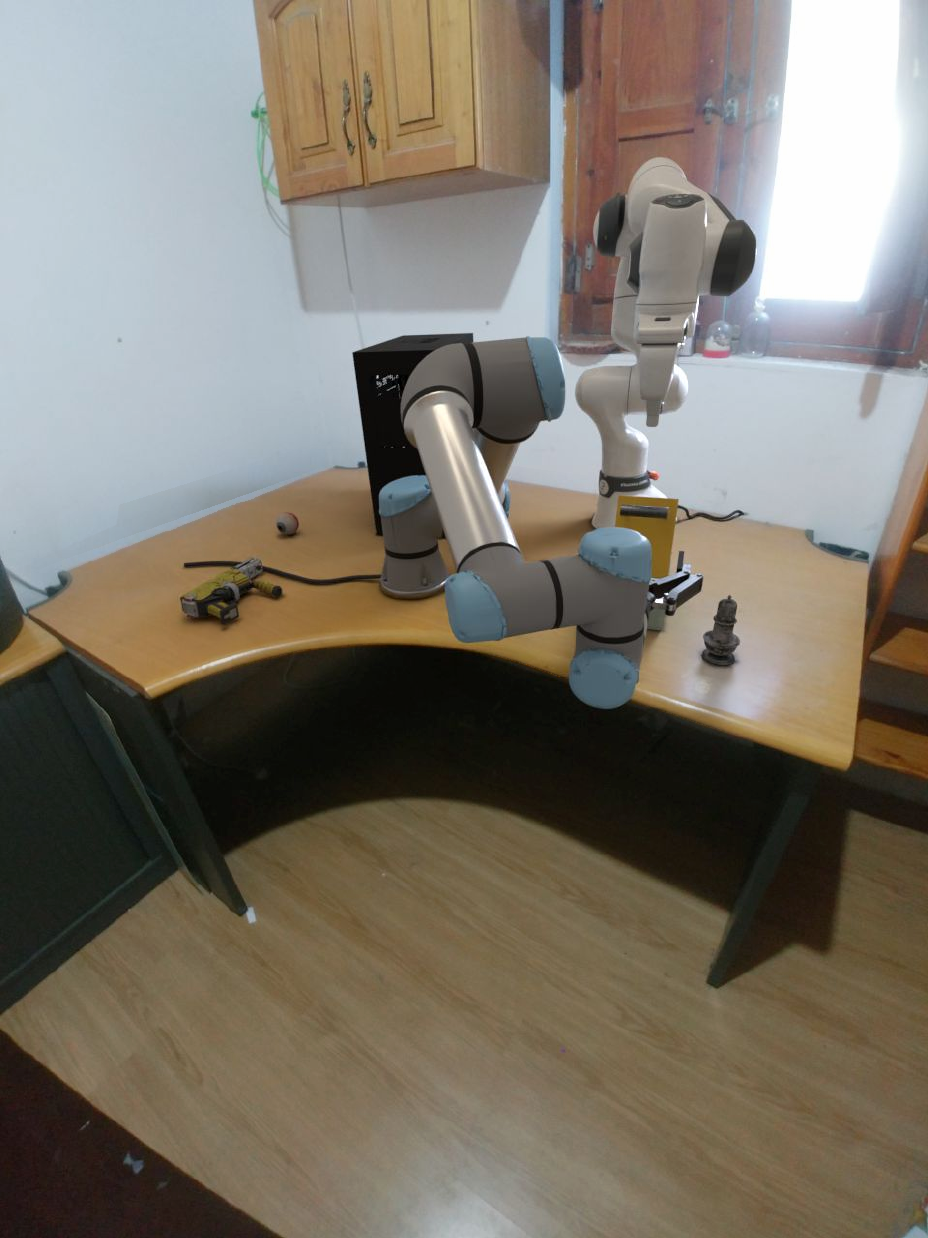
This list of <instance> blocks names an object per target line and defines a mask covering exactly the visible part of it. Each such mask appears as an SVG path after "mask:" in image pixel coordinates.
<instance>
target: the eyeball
mask: <svg viewBox="0 0 928 1238" xmlns="http://www.w3.org/2000/svg"><path fill="white" fill-rule="evenodd" d="M299 525H300V522H299V519H298V517H297V516H296V515H295V514H294V513H292V512H287V511H286V512H282V513H280V514H279V515H278V516H277V517H276V520H275V527H276V529H277V530H278V531H279V532H280V533H281V534H282V535H285V536H286V535H287V536H289V535H293V534H295V533H296V532H297V531H298V529H299Z"/></svg>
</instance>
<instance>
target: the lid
mask: <svg viewBox="0 0 928 1238" xmlns="http://www.w3.org/2000/svg"><path fill="white" fill-rule="evenodd" d="M679 500H680V499H679V498H670V497H667V498H655V497H639V496H622V495H619V496H618V504H617V512H616V520H615V527H619V528H626V529H630V530H634V531H636V532H639V533H640V534H641V535H642V536H644V537H646V538H647V539H648V540H649V542H650V544H651V556H652V565H651V577H656V578H664V577H667V576H668V574H669V575H670V570H669V567H670V568H671V563H670V559H671V560H672V555H671V552H672V553H673V543H674V536H675V530H676V523H677V522H676V517H677V514H678V508H677V507H678V505H679Z"/></svg>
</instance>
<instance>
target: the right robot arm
mask: <svg viewBox="0 0 928 1238" xmlns="http://www.w3.org/2000/svg"><path fill="white" fill-rule="evenodd" d="M593 222H594V223H593V227H592V228H593V229H592V235H593V241H594V245H595V248H596V251H597V253H598V254H599V255H600V256H602V257H606V258H611V259H614V258H615V257H618V258H620V260H619V264H618V269H617V273H616V277H615V283H614V290H613V291H614V292H613V300H612V301H613V302H612V303H613V304H612V314H611V327H610V335H611V338H612V340H613V341H614V343H616V344H617V345H618V346H619V347H621V348H622V349H625V350H627V351H628V352H631V353H632V354H633V355H634V356H635V358H636V363H635V364H633V365H603V366H597V367H593V368H589V369H585V370H584V371H583V372H582V373H581V374H580V376H579V377H578V379H577V381H576V384H575V388H574V389H575V390H574V396H575V402H576V404H577V406H578V407H579V408H580V410H581V411H582V412H583V413H584V414H586V415H587V416H588V417H589V418H590V419H591V420H592V421H593V423H594V425H595V427H596V428H597V431H598V434H599V436H600V437H599V438H600V443H601V468H600V470H599V474H598V492H599V493H598V498H597V502H596V507H595V511H594V514H593V517H592V520H591V525H592V526H593V527H594V528H595V529H598V528H605V527H615V520H616V512H617V504H618V496H619V495H622V496H639V497H655V498H668V497H667V496H666V495H665V494H664V493H663V492H661V491H660V490H659V489H658V488H656V487H655V486H654V485H652V483H651V480H653V481H658V479H659V478H660V473H659V472H657V471H654V470H651V471H649V470H648V469H647V466H648V458H649V457H648V456H649V447H650V443H649V440H648V438H647V437H646V435H645V434H644V433H643V432H641V431H640V430H639V429H636V428H634V427H632V426H630V425H629V424H628V422H627V421H626V418H625V417H626V416H646V420H645V421H646V422H645V425H646V427H648V428H656V427H658V425H659V422H660V415H666V414H671V413H676V412H677V411H678V410H679V409H680V408H681V407H682V406H683V405H684V403H685V401H686V399H687V397H688V392H689V381H688V378H687V375H686V374H685V372H684V371H683V370H682V369H681V368H680V367H679V366H678V365H677V364H676V360H677V354H678V351H681V350H684V348H685V341H686V340H687V339H690V338H693V337H694V336H695V332H696V325H697V324H696V323H697V316H698V309H699V302H700V301H699V300H700V296H710V297H727V298H728V297H730V296H732V295H733V294H734V293H736V292H737V291H738V290H740V289H741V287H743V286H744V285H745V284H746V283H747V282H748V281H749V279H750V278H751V276H752V274H753V270H754V268H755V263H756V258H757V237H756V234H755V231H754V230H753V229H752V227H751V226H750V224H748V223H747V221H745V220H744V219H743V218H742V219H737V218H736V217H735V216H734V214H733V213H732V212H731V211H730V210H729V209H728V208H727V207H726V205H725V204H724V203H723V202H722V201H721V200H720V199H719V198H717V197H716V196H714V195H713V194H710V193H709V192H708V193H707V192H706V191H705V190H702V189H701V188H699V187H697V186H696V185H694V184H693V183H691V182H690V181H689V180H688V179H687V177H686V175H685V172H684V170H683V169H682V168H681V166H680V165H679V164H678V163H677V162H675V161H674V160H672V159H670V158H669V157H665V156H656V157H653V158H650V159H648V160H647V161H645V162H644V163H642V165H640V166H639V168H638V169H637V170H636V172H635V173H634V174H633V177H632V179H631V181H630V184H629V186H628V190H627V194H625V193H623V194H621V191H618V192H616V194H615V196H613V197H610V198H608V199H606V200H605V201H604V202H603V203H602V204H601V205H600V206H599V208H598V211H597V214H596V216H595V218H594V221H593ZM677 509H681V510H682V511H684V512H685V515H686V517H687V518H688V519H693V518H695V517H697V516H704V517H707V518H710V519H712V520H716V521H722V520H727V519H729V518H731V517H733V516H735V514H739V515H741V516H744V515H745V513H744V511H742V510H740V509H736V510H733V511H732V512H730V513H729V514H727V515H725V516H715V515H712V514H710V513H707V512H701V511H698V512H695V513H693V514H691V515H690V511H689V509H688V508H687V507H685V506H683V505H680V504H678V507H677ZM677 522H678V516H676V522H675V523H677Z"/></svg>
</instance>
